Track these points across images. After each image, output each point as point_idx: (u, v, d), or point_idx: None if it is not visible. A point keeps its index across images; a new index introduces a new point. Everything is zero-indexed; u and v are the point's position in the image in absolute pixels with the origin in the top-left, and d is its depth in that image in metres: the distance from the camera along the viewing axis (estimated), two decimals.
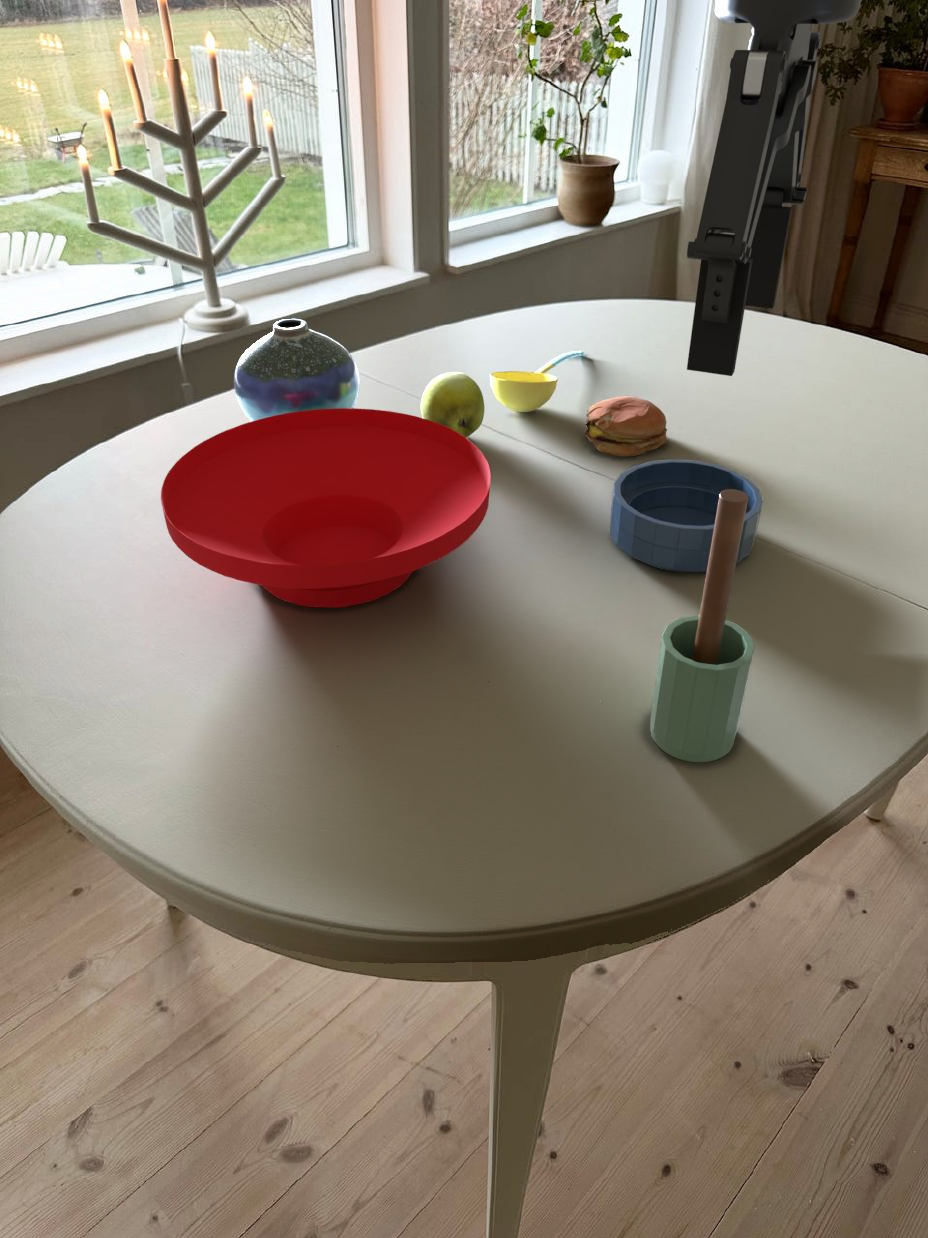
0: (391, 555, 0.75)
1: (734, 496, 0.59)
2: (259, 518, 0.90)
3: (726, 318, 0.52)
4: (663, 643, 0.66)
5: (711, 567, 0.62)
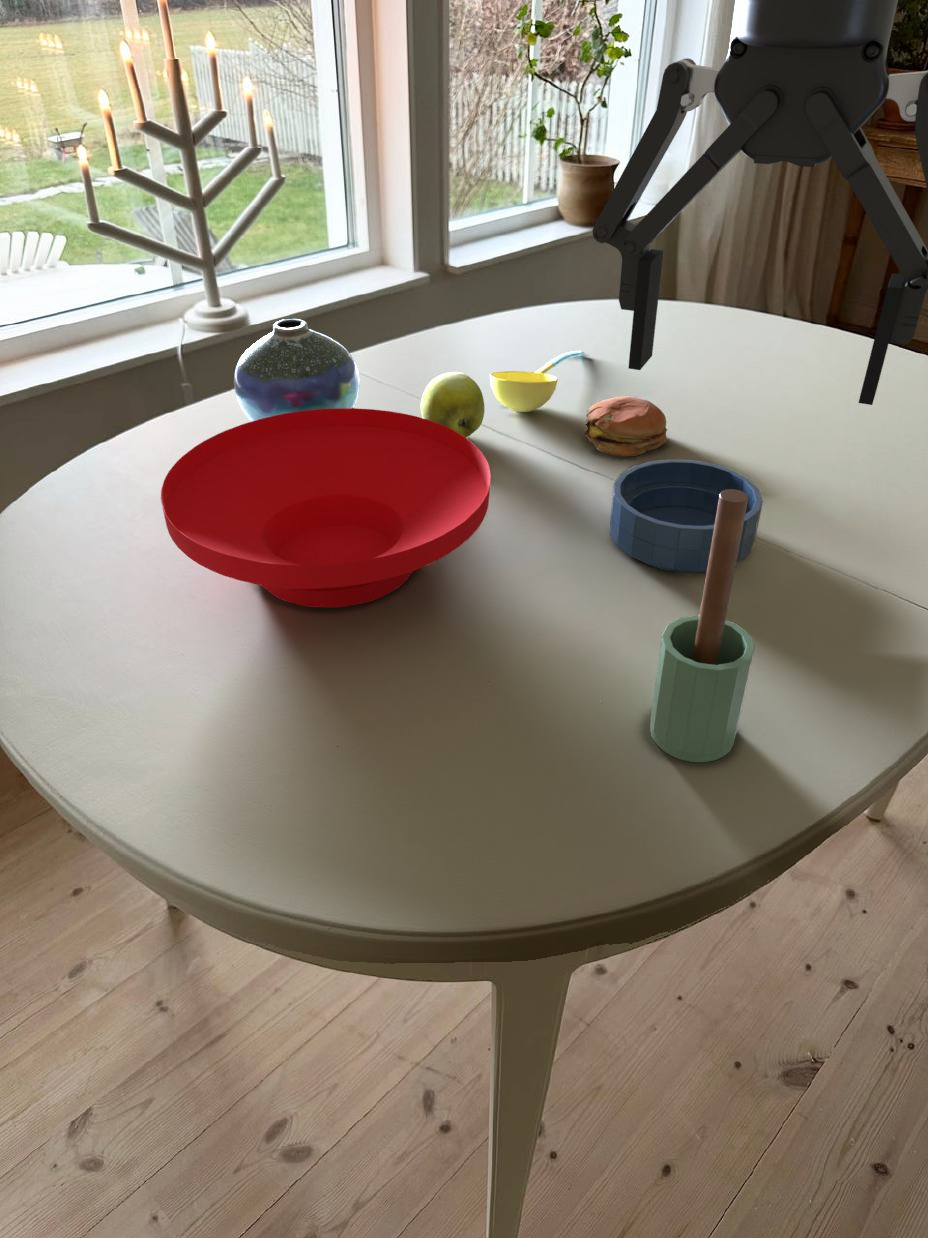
0: (391, 555, 0.75)
1: (734, 496, 0.59)
2: (259, 518, 0.90)
3: None
4: (663, 643, 0.66)
5: (711, 567, 0.62)
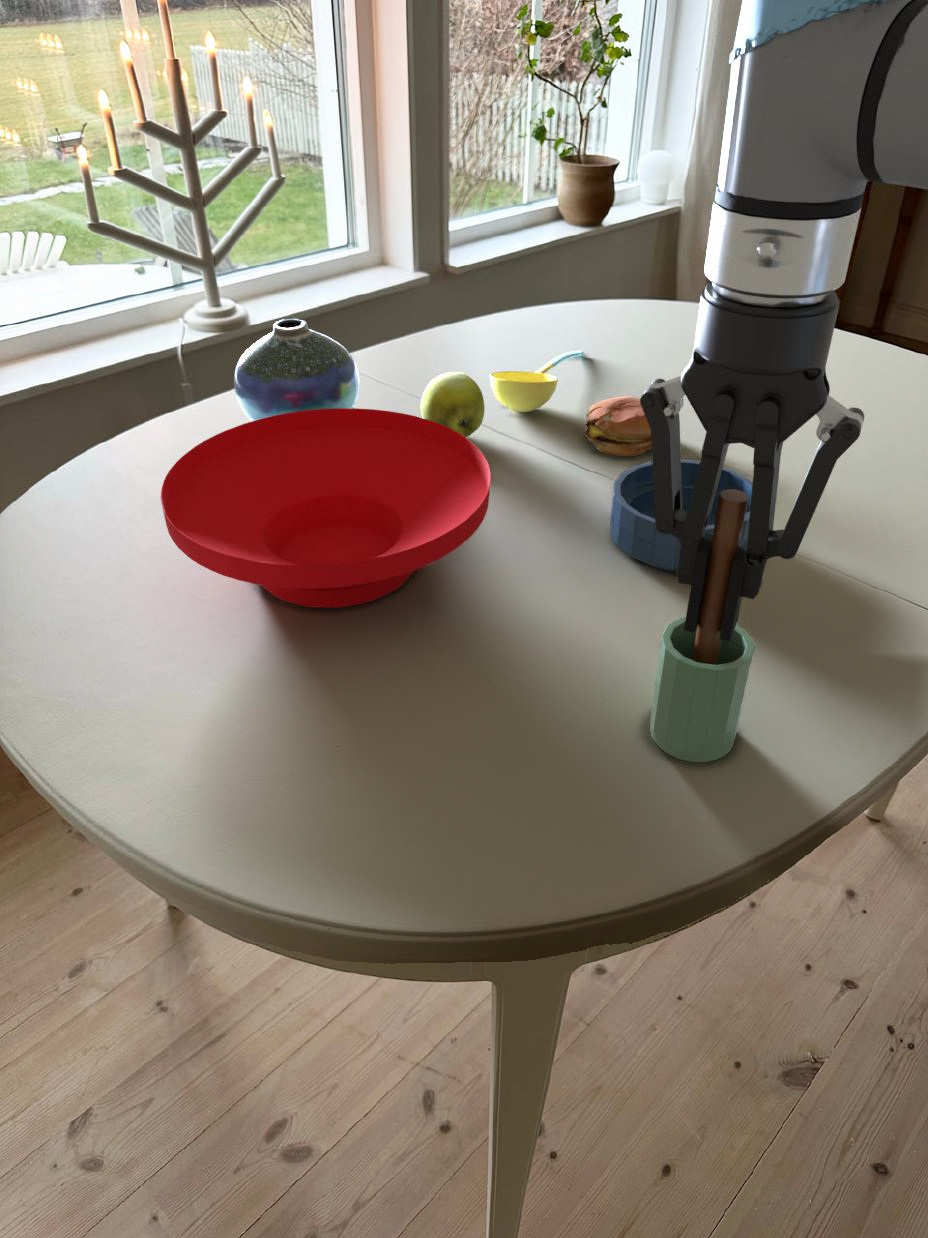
0: (391, 555, 0.75)
1: (734, 496, 0.59)
2: (259, 518, 0.90)
3: None
4: (663, 643, 0.66)
5: (711, 567, 0.62)
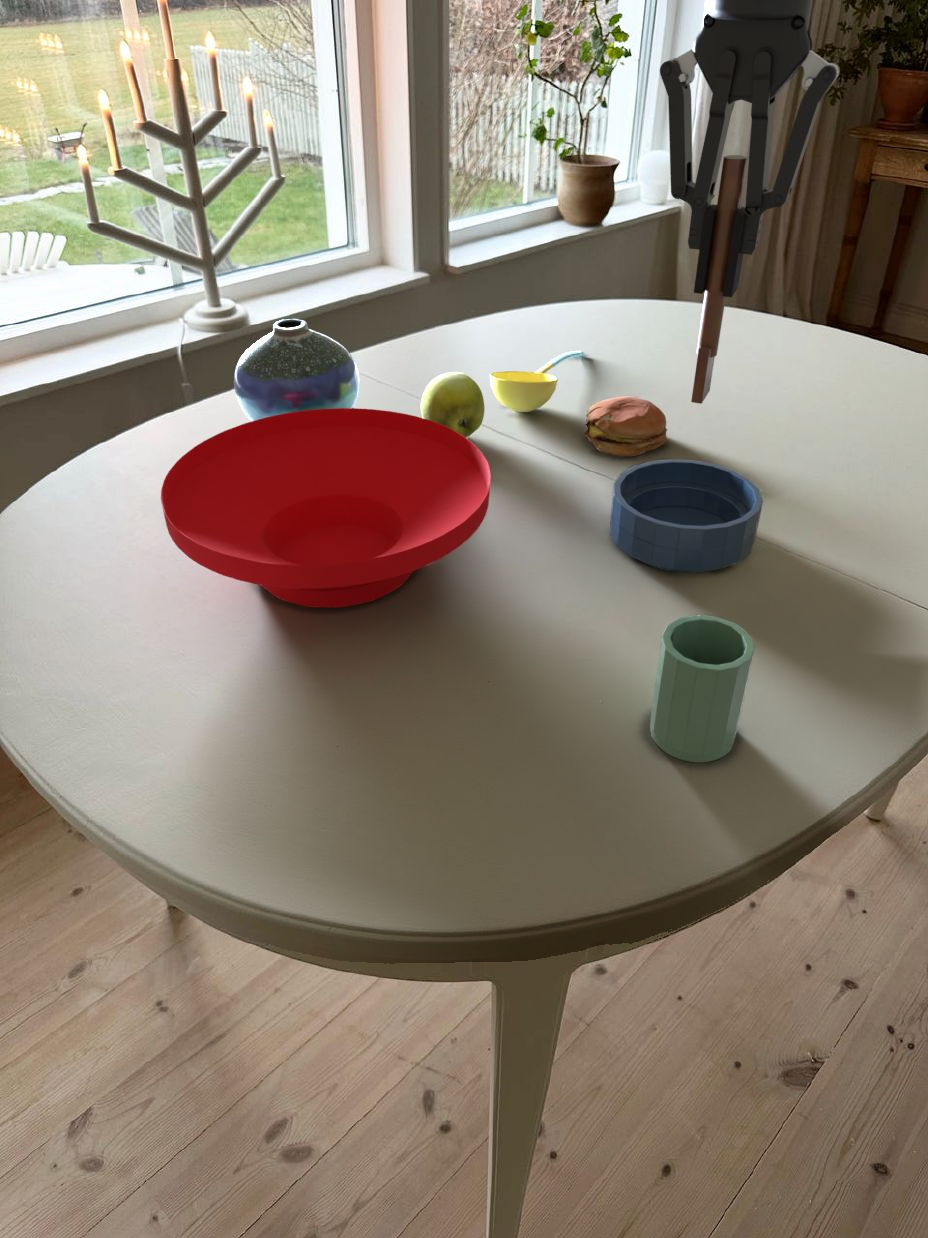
0: (391, 555, 0.75)
1: (735, 157, 0.73)
2: (259, 518, 0.90)
3: None
4: (663, 643, 0.66)
5: (716, 228, 0.76)
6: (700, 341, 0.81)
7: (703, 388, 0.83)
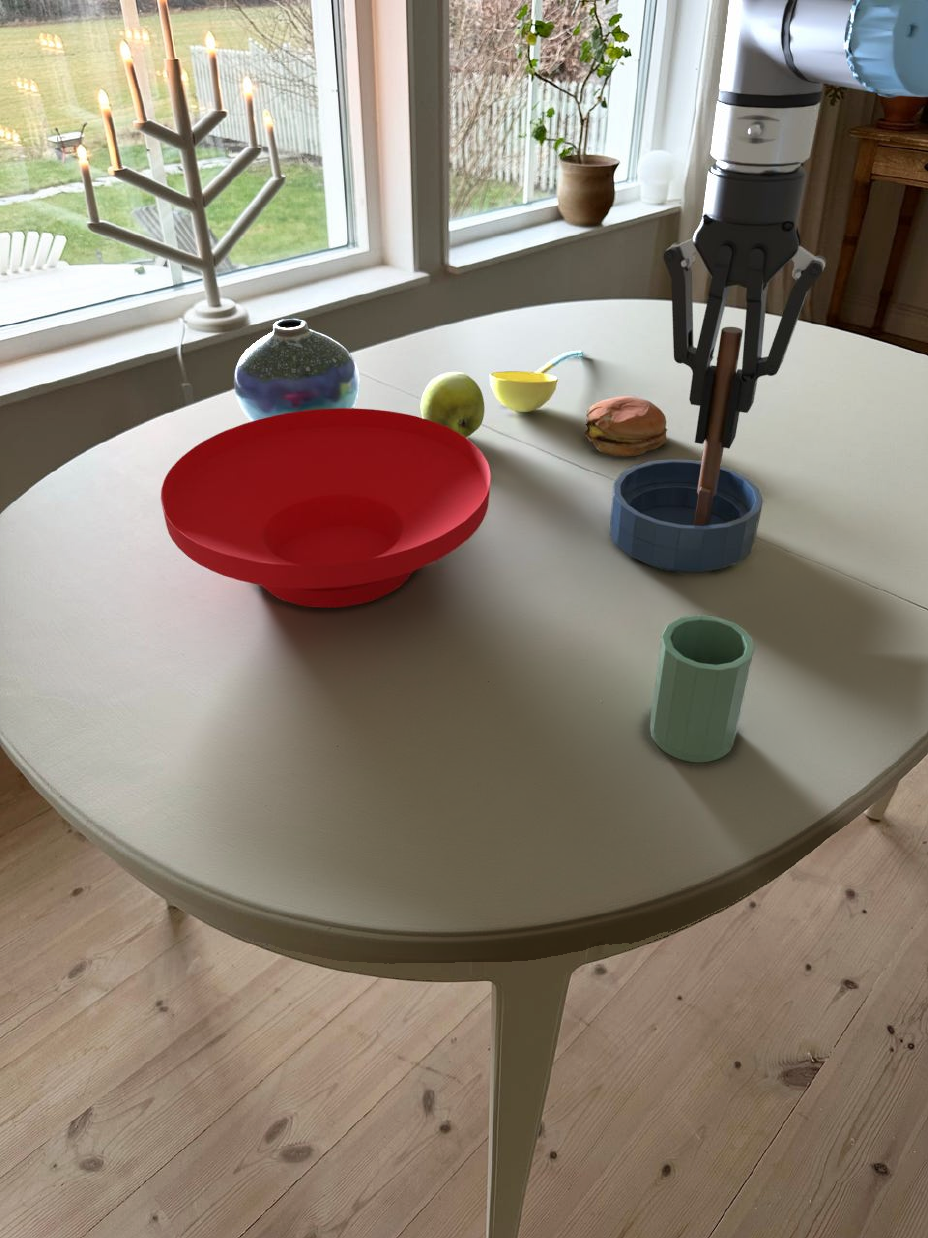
0: (391, 555, 0.75)
1: (732, 330, 0.80)
2: (259, 518, 0.90)
3: None
4: (663, 643, 0.66)
5: (715, 389, 0.83)
6: (700, 482, 0.89)
7: (704, 524, 0.90)
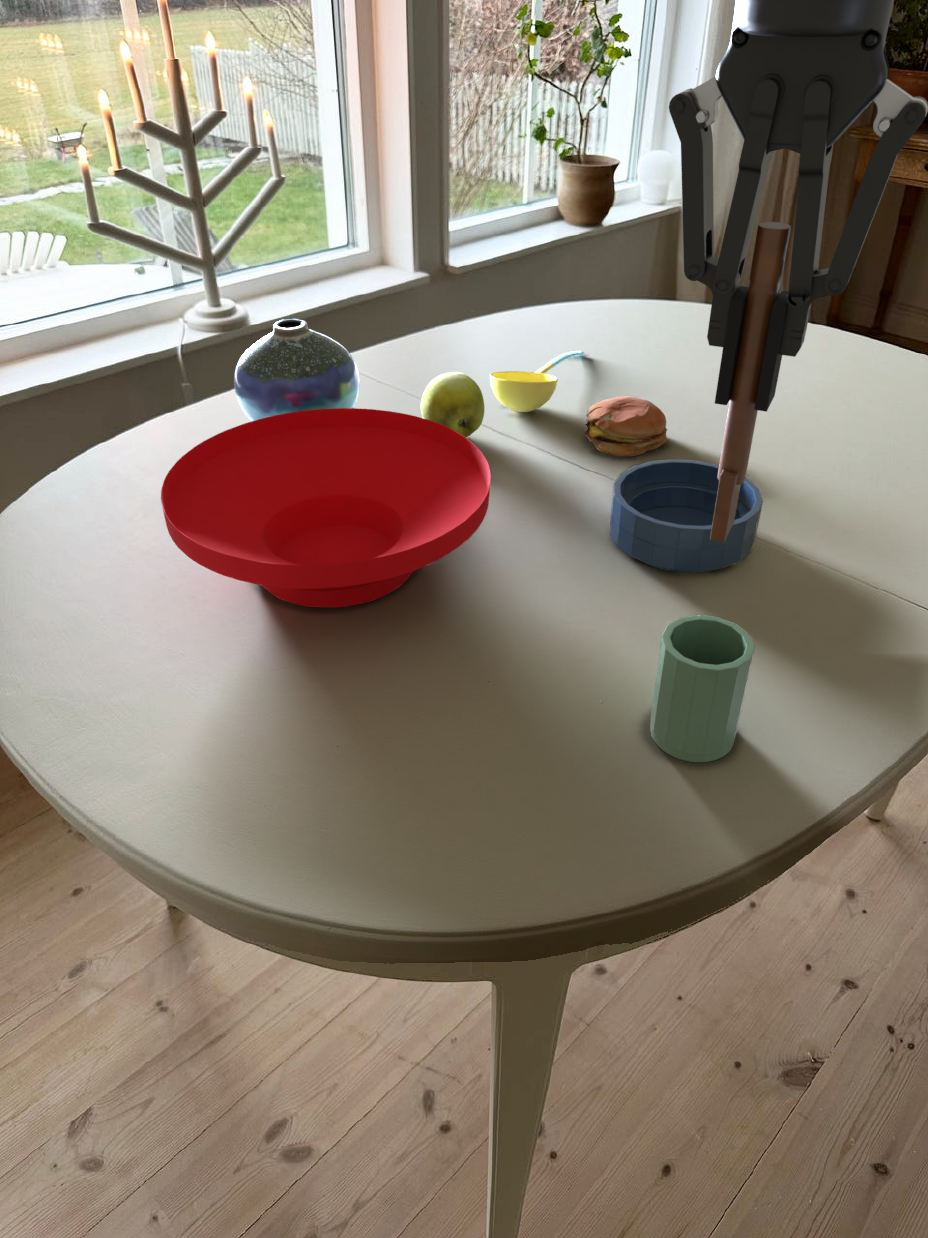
0: (391, 555, 0.75)
1: (774, 226, 0.52)
2: (259, 518, 0.90)
3: None
4: (663, 643, 0.66)
5: (747, 320, 0.55)
6: (722, 463, 0.61)
7: (726, 524, 0.62)
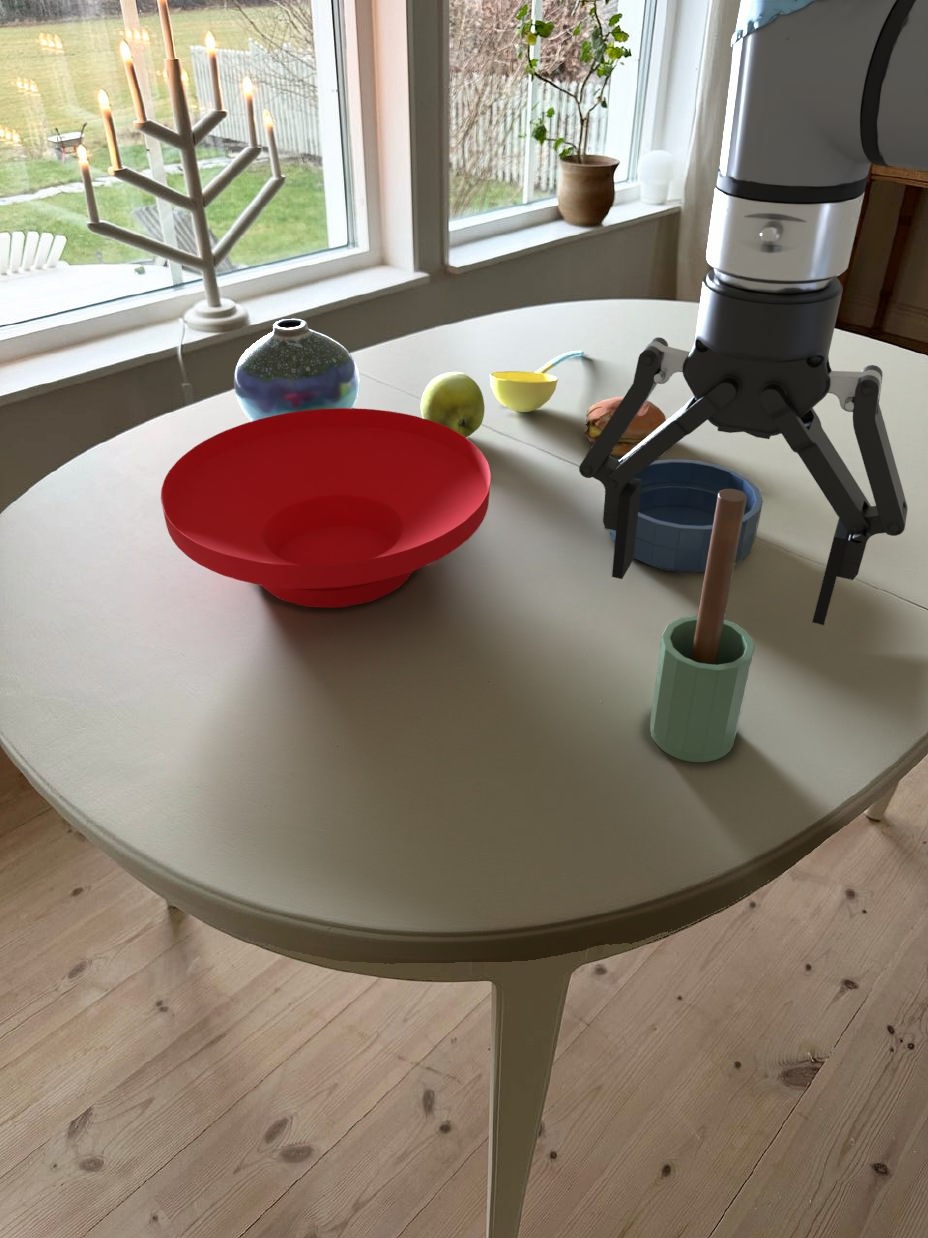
0: (391, 555, 0.75)
1: (732, 496, 0.59)
2: (259, 518, 0.90)
3: None
4: (663, 643, 0.66)
5: (710, 566, 0.62)
6: None
7: None
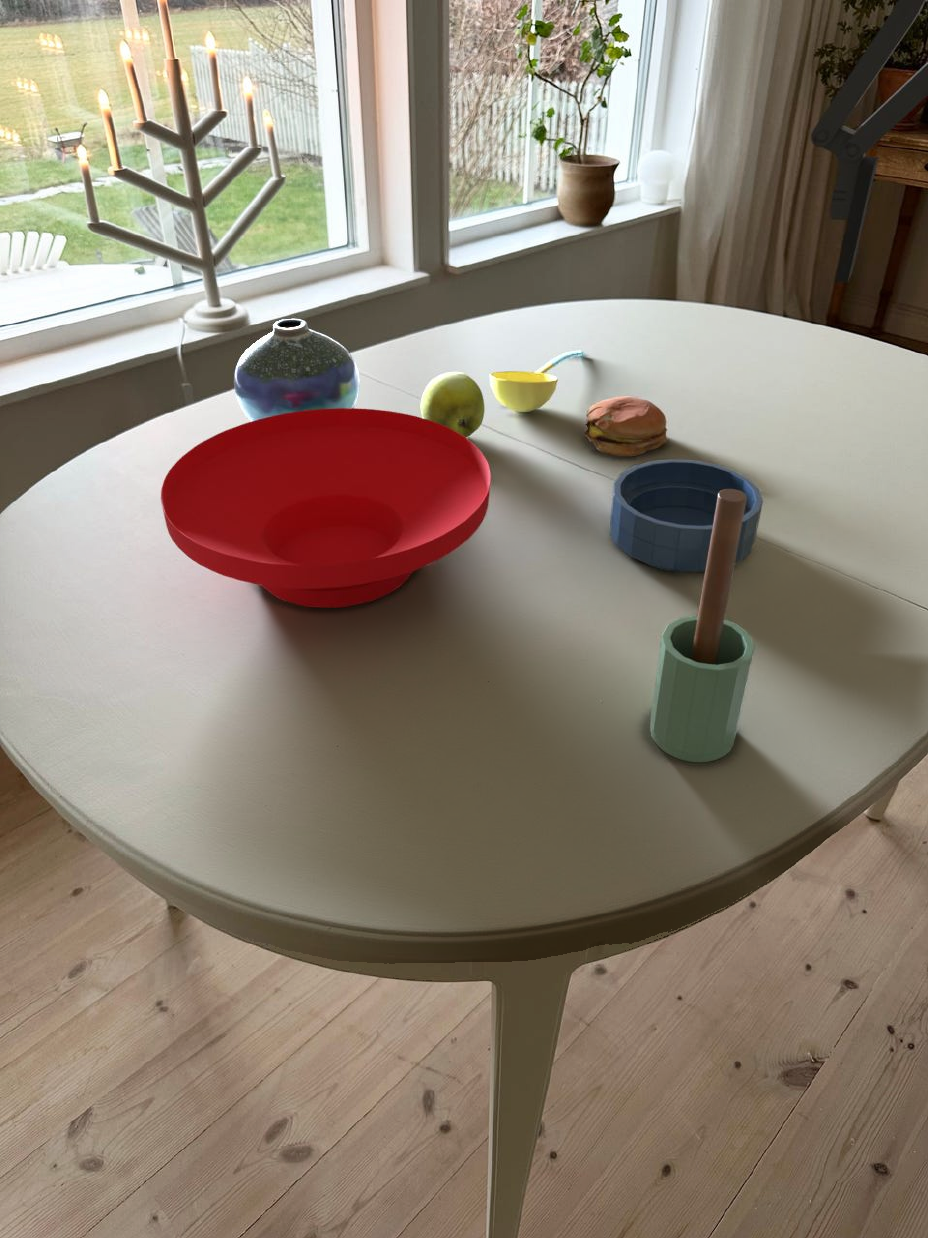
0: (391, 555, 0.75)
1: (732, 496, 0.59)
2: (259, 518, 0.90)
3: None
4: (663, 643, 0.66)
5: (710, 566, 0.62)
6: None
7: None
